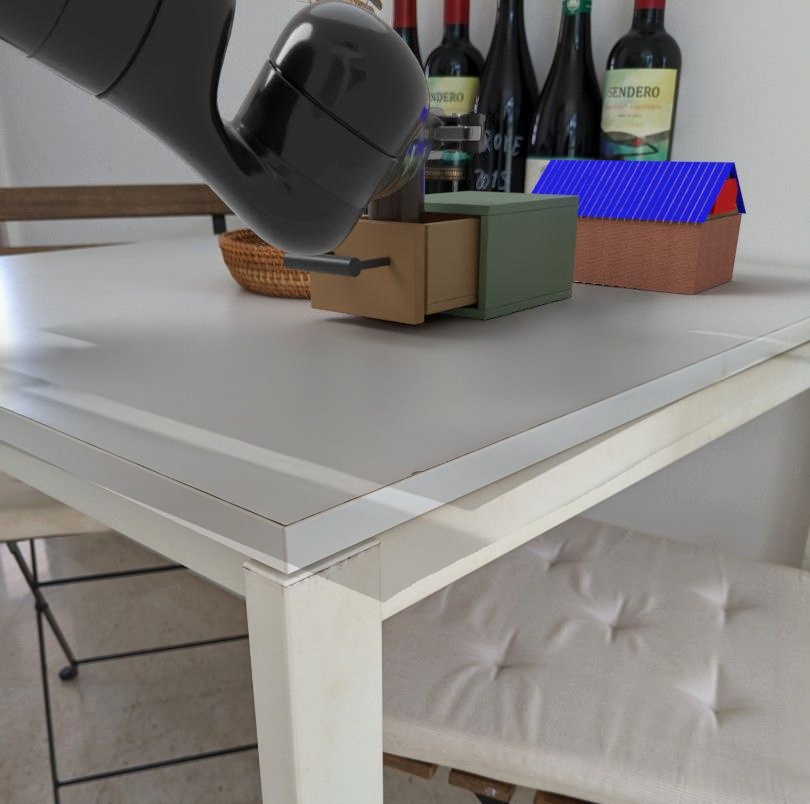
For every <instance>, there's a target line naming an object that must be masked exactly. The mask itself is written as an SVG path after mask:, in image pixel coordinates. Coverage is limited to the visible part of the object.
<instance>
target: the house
mask: <svg viewBox="0 0 810 804" xmlns="http://www.w3.org/2000/svg"><path fill="white" fill-rule="evenodd" d="M739 180H740V179H739V176H738V171H737V166H736V163H735V162H733V161H677V160H676V161H673V160H672V161H671V160H668V161H667V160H605V159H604V160H601V159H550V160H549V161H548V163H547V164H546V166H545V169H544V170H543V172H542V173H541V175H540V177H539V179H538V181H537V182H536V184H535V185H534V187H533V189H532V191H531V192H530V194H553V195H577V196H579V204H578V218H577V232H576V245H575V258H574V271H573V281H578V282H585V283H596V284H604V285H611V286H610V287H614V286H619V287H618V288H624V287H626V288H625V289H634V288H636V290H643V291H655V292H664V293H673V294H683V295H696V294H698V293H700V292H703V291H706V290H708V289H712V288H714V287H716V286H719V285H722V284H725V283H728V282H730V281H732V280H733V274H734V268H735V263H736V262H735V261H736V256H737V250H738V249H737V248H738V243H739V238H740V237H739V235H740V229H741V223H742V217H743V214H745V215H746V214H747V211H746V206H745V202H744V198H743V193H742V189H741V185H740V181H739ZM585 283H584V284H585ZM604 285H603V286H604Z"/></svg>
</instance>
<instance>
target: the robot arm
mask: <svg viewBox="0 0 810 804" xmlns="http://www.w3.org/2000/svg"><path fill="white" fill-rule="evenodd" d="M236 8H237V0H0V44H2V45H5V46H6V47H8V48H9V49H11V50H12V51H15V52H16V53H18V54H20V55H21V56H23V57H26V59H27V60H30V61H31V62H33V63H35V64H37V65H38V66H40V67H42V68H44V69H46V70H47V71H49V72H51V73H52V74H54V75H55V76H57V77H59V78H61V79H63V80H64V81H66V82H68V84H69V83H70V84H71V85H73V86H75V87H76V88H78V89H80V90H81V91H83V92H85V93H87V94H88V95H90V96H93V97H94V98H95V99H97V100H99V102H100V101H101V102H102V103H104V104H106V105H107V106H109V107H111V108H112V109H114V110H115V111H117V112H119V113H120V114H121V115H123V116H125V117H126V118H127V119H129V120H130V121H132V122H133V123H135V124H136V125H138V126H139V127H140V128H141V129H143V130H144V131H145V132H146V133H148V134H149V135H150V136H152V137H153V138H155V139H156V140H157V141H158V142H159V143H160V144H162V145H163V146H165V147H166V148H167V149H168V150H169V151H170V152H171V153H172V154H173V155H175V156H176V158H178V159H179V160H181V162H183V163H184V164H185V165H186V166H187V167H188V168H189V169H190V170H191V171H193V172H194V174H195V175H197V176H198V177H199V178H200V179H201V180H202V181H203V182H204V183H205V184H206V185H207V187H209V188H210V189H211V191H213V193H215V195H216V196H217V197H218V198H219V199H220V200H221V201H222V202H223V203H224V204H225V205H226V206H227V207H228V209H230V210H231V211H232V212H233V213H234V214H235V215H236V216H237V218H239V220H240V221H241V222H242V223H243V224H244V225H245V226H246V227H248V229H250V230H251V231H252V232H253V233H254V234H255V235H257V236H258V237H259V238H260V239H261V240H262V241H264V242H265V243H266V244H268V245H270V246H271V247H273V248H275V249H277V250H279V251H281V252H284V253H286V252H287V253H290V254H294V255H301V256H314V255H320V254H325V253H327V252H330V251H333V250H334V249H336V248H337V247H339V246H340V245H341V244H342V243H343V242H344V241H345V240H346V238H347V237H348V236H349V235H350V233H351V232H352V230H353V229H354V227H355V226H356V224H357V223H358V221H359V220H360V218H361V217H362V215H364V213H365V212H366V210H367V209H368V205H369V203H370V202H371V200H375V199H380V198H383V197H386V196H389V195H391V194H393V193H394V192H396V191H398V190H400V189H401V188H403V187H405V186H406V185H408V184H409V183H410V182H411V181H413V180H414V179H415V178H416V177H417V175H418V174H419V173H420V172H421V170H422V169H423V167H424V165H425V166H426V164H427V162H428V161H429V160H432V161H433V160H441V159H442V158H443V156H444V153H445V152H448V153H449V154H456V153H462V154H466V156H474V155H475V154H477V155H478V154H480V153H483V152H485V123H486V114H483V113H481V112H476V111H475V110H474V111H472V110H471V111H470V110H469V111H467V113H461V114H460V113H457V112H450V113H449V114H445V112H444V109H443V108H442V107H441V106H431V93H430V89H429V88H430V87H429V84H428V81H427V78H426V76H425V72H424V70H423V69H422V66H421V65H420V63H419V60H418V58H417V57H416V55H415V54H414V53H413V50H412V49H411V48H410V47H409V45H408V44H407V43H406V41H405V40H404V39H403V38H402V36H401V35H400V34H399V33H398V32H397V31H396V30H395V29H394V28H393V27H392V26H391V25H390V24H388V22H387V21H385V20H384V19H382V18H381V17H380V16H378V15H377V14H376V13H374V12H372V11H371V10H369V9H367V8H365V7H364V6H361V5H359V4H356V3H353V2H350V1H347V0H315V1H313V2H310V3H309V4H307V5H305V6H303V7H301V9H300V10H298V11H297V12H296V13H295V14H294V15H293V16H292V17H291V18H290V20H288V21H287V23H286V25H284V27H283V29H282V31H281V32H280V34H279V35H278V37H277V39H276V41H275V43H274V44H273V47H271V50H270V51H269V54H268V58H267V59H265V61H264V62H263V65H262V66H261V68H260V70H259V72H258V74H257V76H256V78H255V79H254V81H253V83H252V84H251V86H250V88H249V90H248V91H247V94H246V96H245V98H244V99H243V100H242V103H241V105H240V106H239V108H238V110H237V112H236V114H235V115H234V117H233V118H232V119H231V120H228V119H226V118H224V117H223V116H222V115H221V112H220V108H219V103H218V95H219V87H220V81H221V74H222V70H223V66H224V62H225V59H226V54H227V52H228V47H229V43H230V40H231V36H232V32H233V27H234V22H235V15H236V10H237V9H236Z"/></svg>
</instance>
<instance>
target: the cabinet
mask: <svg viewBox="0 0 810 804" xmlns="http://www.w3.org/2000/svg"><path fill="white" fill-rule="evenodd" d="M578 204H579V196H577V195H553V194H531V193H527V192H526V193H525V192H500V191H477V190H464V191H453V192H452V191H451V192H439V193H429V194H425V212H435V213H451V214H467V215H482V216H481V234H480V266H479V298H478V303H474V304H470V305H466V306H462V307H458V308H454V309H450V310H446V311H441V312H437V313H436V314H441V315H448V316H455V317H460V318H469V319H475V320H481V321H486V320H490V319H494V318H498V317H502V316H505V314H506V315H509V314H513V313H516V311H517V312H520V311H524V310H528V309H531V307H532V308H535V307H538V305H539V306H542V304H543V305H546V304H550V303H553V302H552V301H554V302H557V301H556V300H558V301H560V299H561V300H565V299H568V298H567V297H569V298H571V297H572V294H573V284H574V282H573V271H574V258H575V245H576V232H577V218H578ZM570 296H571V297H570ZM564 298H565V299H564ZM527 308H528V309H527ZM523 309H524V310H523ZM512 312H513V313H512Z"/></svg>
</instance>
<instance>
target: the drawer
mask: <svg viewBox="0 0 810 804" xmlns="http://www.w3.org/2000/svg"><path fill="white" fill-rule="evenodd" d="M481 216H482V215H467V214H451V213H435V212H425V224H417V223H403V222H389V221H376V220H368V214H363V215H362V217H361V218H360V220H359V221H358V223H357V224H356V226H355V227H354V229H353V230H352V232H351V233H350V235H349V236H348V237H347V238H346V240H345V241H344V242H343V243H342V244H341V245H340V246H339V247H337V248H336V249H334V250H333V251H330V252H327V253H325V254H320V255H314V256H301V255H294V254H290V253H287V252H284V254H283V259H282V261H283V265H284V267H285V268H286V269H287V270H293V271H300V272H301V271H302V272H309V282H310V283H309V284H310V285H309V286H310V300H311V301H310V306H311V309H315V310H321V311H325V312H326V311H327V312H333V313H339V314H346V315H353V316H358V317H364V318H369V319H370V318H371V319H376V320H382V321H383V320H384V321H390V322H396V323H402V324H408V325H420V324H423V323H424V322H425V316H428V315H433V314H438V313H437V312H441V311H446V310H450V309H454V308H458V307H462V306H466V305H470V304H474V303H478V298H479V266H480V234H481Z"/></svg>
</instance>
